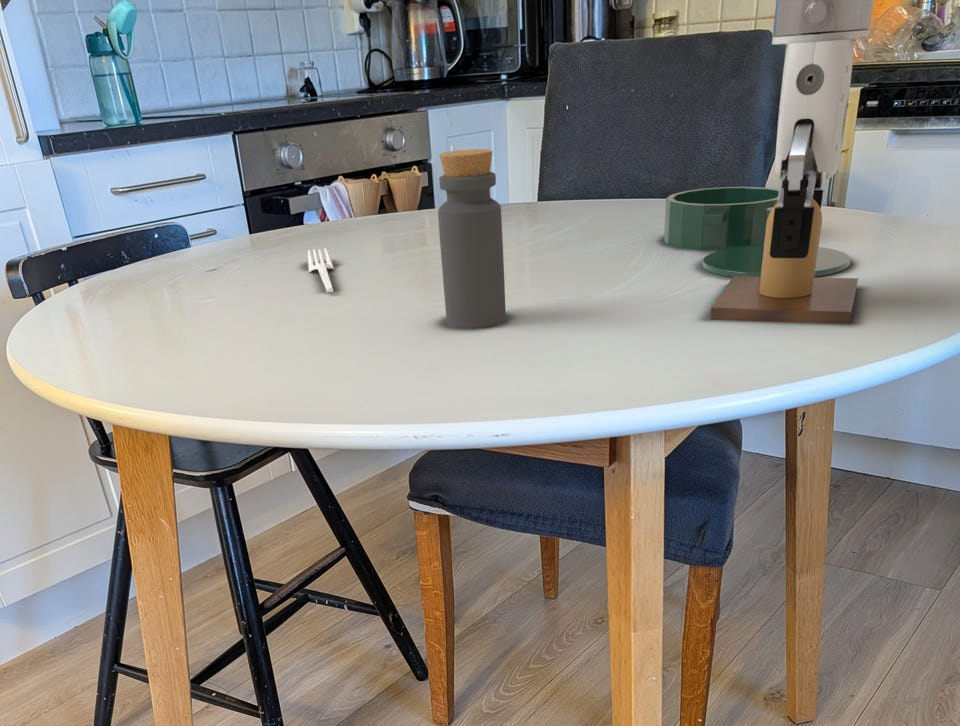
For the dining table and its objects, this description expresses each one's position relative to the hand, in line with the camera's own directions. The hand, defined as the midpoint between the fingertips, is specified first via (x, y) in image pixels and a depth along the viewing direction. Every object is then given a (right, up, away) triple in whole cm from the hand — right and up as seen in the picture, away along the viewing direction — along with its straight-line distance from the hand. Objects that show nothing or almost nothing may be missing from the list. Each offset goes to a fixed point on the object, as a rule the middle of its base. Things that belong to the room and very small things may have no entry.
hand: (794, 246), depth 80 cm
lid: (+4, +6, +17) cm, 18 cm away
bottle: (-29, -6, +5) cm, 30 cm away
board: (0, -5, +3) cm, 6 cm away
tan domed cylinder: (0, -3, +2) cm, 4 cm away
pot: (+2, +14, +31) cm, 34 cm away
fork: (-49, +9, +29) cm, 57 cm away
